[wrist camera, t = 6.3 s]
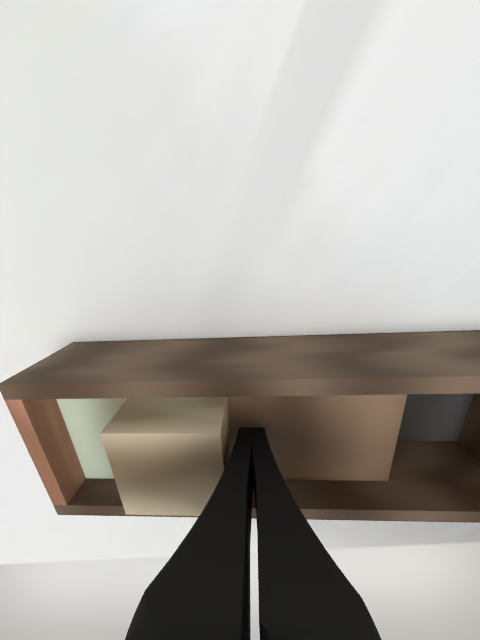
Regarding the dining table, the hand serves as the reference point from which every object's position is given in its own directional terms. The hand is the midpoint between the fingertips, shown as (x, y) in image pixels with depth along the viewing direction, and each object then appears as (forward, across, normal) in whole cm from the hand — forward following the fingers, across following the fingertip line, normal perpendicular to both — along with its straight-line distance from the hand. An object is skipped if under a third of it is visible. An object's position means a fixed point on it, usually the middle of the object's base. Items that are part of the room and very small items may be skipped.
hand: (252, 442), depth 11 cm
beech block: (+1, +4, 0) cm, 4 cm away
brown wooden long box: (+4, -5, 0) cm, 6 cm away
